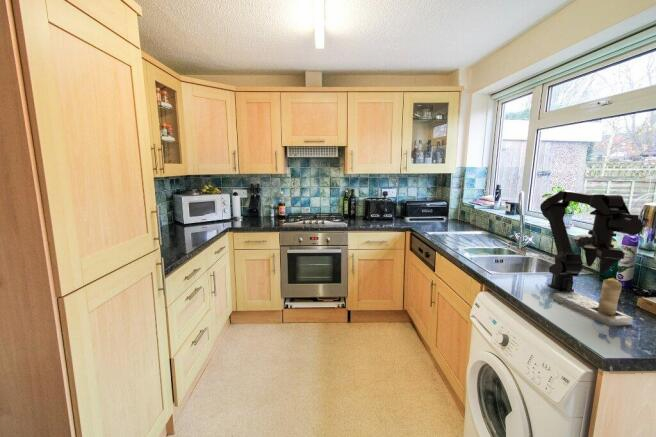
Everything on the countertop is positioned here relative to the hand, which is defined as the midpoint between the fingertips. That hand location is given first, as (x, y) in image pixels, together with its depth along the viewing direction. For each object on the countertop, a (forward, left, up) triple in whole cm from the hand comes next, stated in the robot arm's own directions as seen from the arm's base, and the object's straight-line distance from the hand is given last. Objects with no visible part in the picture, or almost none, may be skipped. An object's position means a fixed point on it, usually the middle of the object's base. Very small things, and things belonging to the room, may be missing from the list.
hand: (594, 269), depth 109 cm
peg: (+11, -7, -13) cm, 18 cm away
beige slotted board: (+6, -7, -13) cm, 16 cm away
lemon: (-3, +14, -13) cm, 20 cm away
